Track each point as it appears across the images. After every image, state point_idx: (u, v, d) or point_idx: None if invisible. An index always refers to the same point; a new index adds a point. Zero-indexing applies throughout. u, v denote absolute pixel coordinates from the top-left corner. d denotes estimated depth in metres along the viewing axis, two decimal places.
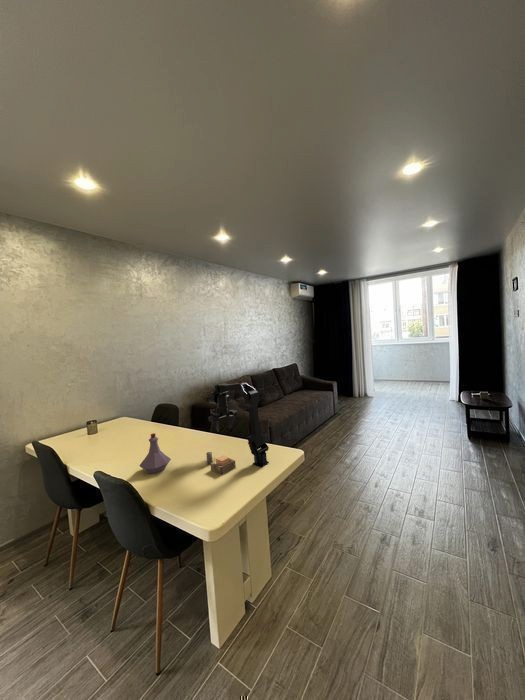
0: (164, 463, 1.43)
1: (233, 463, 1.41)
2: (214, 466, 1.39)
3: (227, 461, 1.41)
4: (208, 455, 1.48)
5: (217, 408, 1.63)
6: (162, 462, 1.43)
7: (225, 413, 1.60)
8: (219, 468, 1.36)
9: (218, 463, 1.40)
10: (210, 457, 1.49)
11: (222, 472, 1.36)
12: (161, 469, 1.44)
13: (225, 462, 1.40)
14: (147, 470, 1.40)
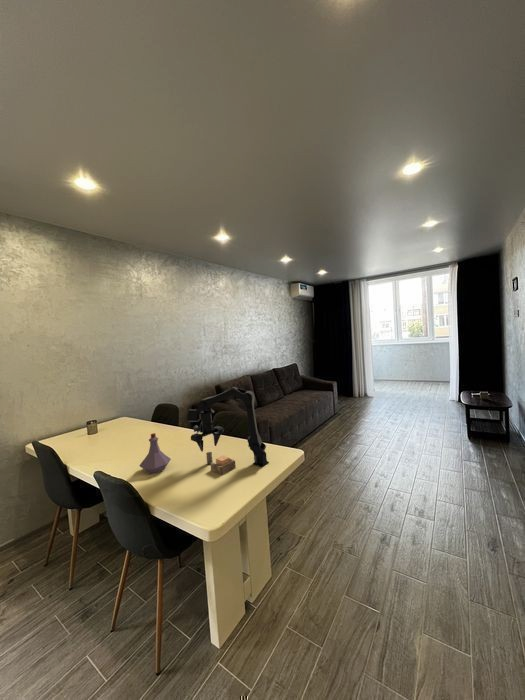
0: (164, 463, 1.43)
1: (233, 463, 1.41)
2: (214, 466, 1.39)
3: (227, 461, 1.41)
4: (208, 455, 1.48)
5: (201, 425, 1.49)
6: (162, 462, 1.43)
7: (209, 431, 1.47)
8: (219, 468, 1.36)
9: (218, 463, 1.40)
10: (210, 457, 1.49)
11: (222, 472, 1.36)
12: (161, 469, 1.44)
13: (225, 462, 1.40)
14: (147, 470, 1.40)
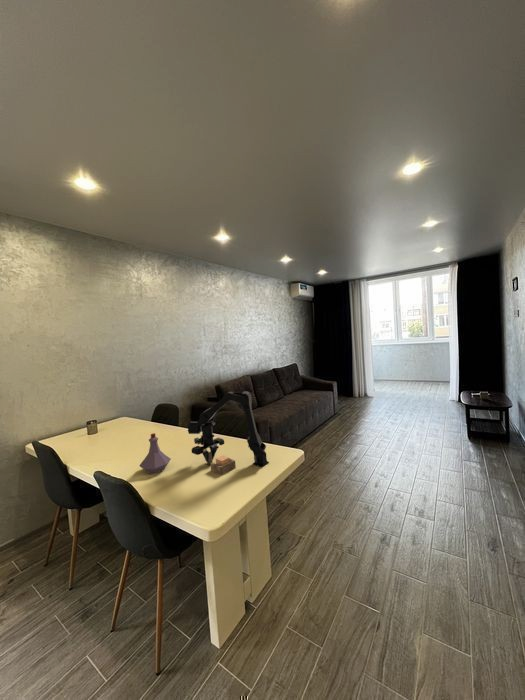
0: (164, 463, 1.43)
1: (233, 463, 1.41)
2: (214, 466, 1.39)
3: (227, 461, 1.41)
4: None
5: (202, 437, 1.50)
6: (162, 462, 1.43)
7: (210, 443, 1.47)
8: (219, 468, 1.36)
9: (218, 463, 1.40)
10: (210, 457, 1.49)
11: (222, 472, 1.36)
12: (161, 469, 1.44)
13: (225, 462, 1.40)
14: (147, 470, 1.40)
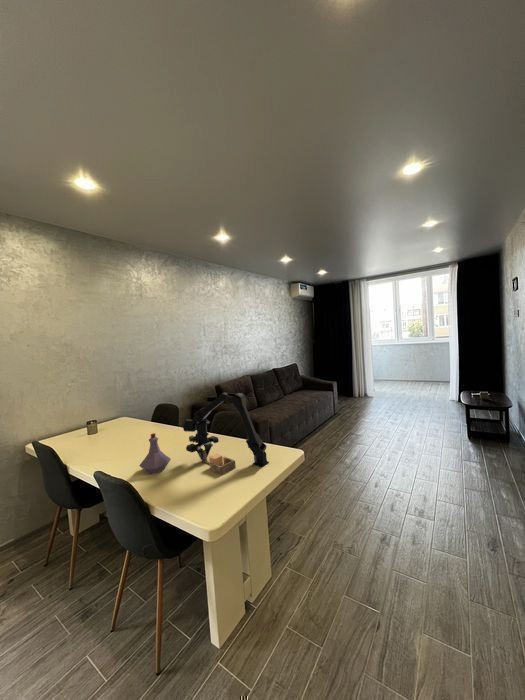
0: (164, 463, 1.43)
1: (233, 463, 1.41)
2: (214, 466, 1.39)
3: (220, 459, 1.44)
4: None
5: (196, 436, 1.53)
6: (162, 462, 1.43)
7: (204, 441, 1.51)
8: (219, 468, 1.36)
9: (211, 461, 1.43)
10: (204, 455, 1.52)
11: (222, 472, 1.36)
12: (161, 469, 1.44)
13: (218, 460, 1.43)
14: (147, 470, 1.40)
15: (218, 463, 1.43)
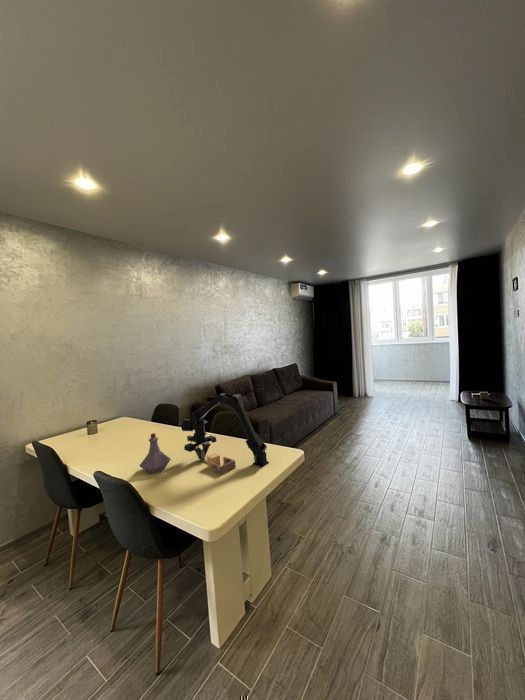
0: (164, 463, 1.43)
1: (233, 463, 1.41)
2: (214, 466, 1.39)
3: (217, 459, 1.45)
4: (201, 452, 1.53)
5: (194, 435, 1.55)
6: (162, 462, 1.43)
7: (202, 441, 1.52)
8: (219, 468, 1.36)
9: (209, 460, 1.45)
10: (203, 454, 1.53)
11: (222, 472, 1.36)
12: (161, 469, 1.44)
13: (215, 459, 1.44)
14: (147, 470, 1.40)
15: (215, 462, 1.44)
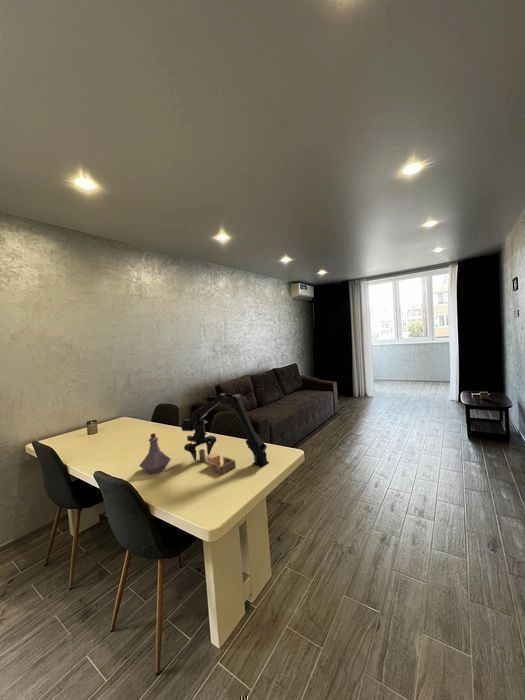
0: (164, 463, 1.43)
1: (233, 463, 1.41)
2: (214, 466, 1.39)
3: (217, 459, 1.45)
4: (201, 452, 1.53)
5: (194, 435, 1.55)
6: (162, 462, 1.43)
7: (202, 441, 1.53)
8: (219, 468, 1.36)
9: (209, 460, 1.45)
10: (202, 454, 1.53)
11: (222, 472, 1.36)
12: (161, 469, 1.44)
13: (215, 459, 1.44)
14: (147, 470, 1.40)
15: (215, 462, 1.44)
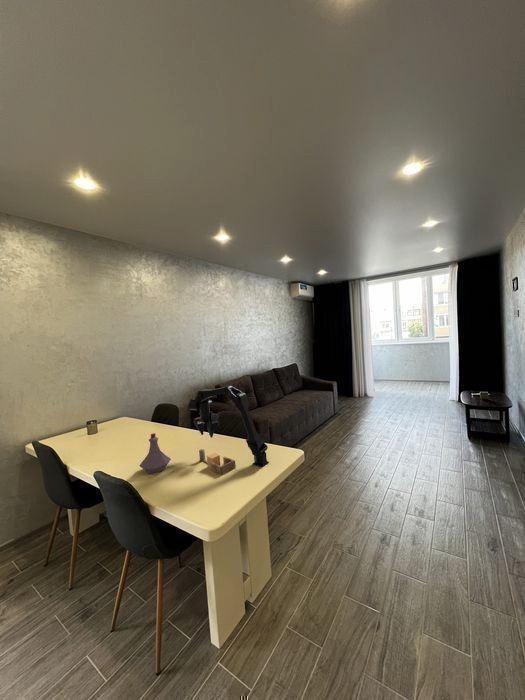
0: (164, 463, 1.43)
1: (233, 463, 1.41)
2: (214, 466, 1.39)
3: (217, 459, 1.45)
4: (201, 452, 1.53)
5: None
6: (162, 462, 1.43)
7: (201, 420, 1.58)
8: (219, 468, 1.36)
9: (209, 460, 1.45)
10: (202, 454, 1.53)
11: (222, 472, 1.36)
12: (161, 469, 1.44)
13: (215, 459, 1.44)
14: (147, 470, 1.40)
15: (215, 462, 1.44)
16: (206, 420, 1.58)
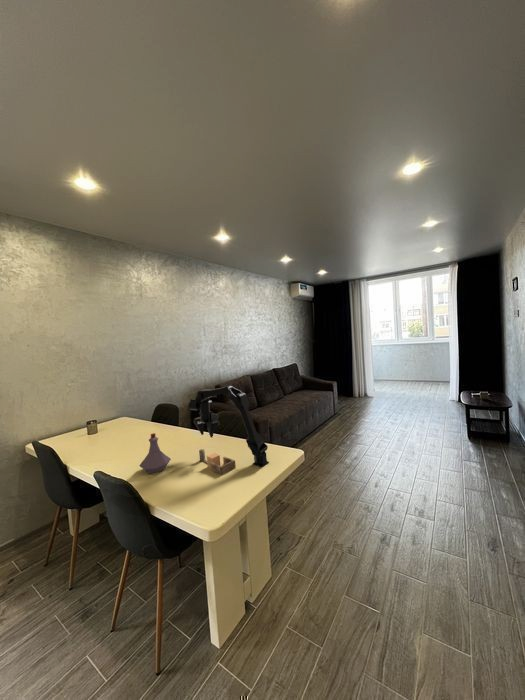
0: (164, 463, 1.43)
1: (233, 463, 1.41)
2: (214, 466, 1.39)
3: (217, 459, 1.45)
4: (201, 452, 1.53)
5: None
6: (162, 462, 1.43)
7: (201, 420, 1.59)
8: (219, 468, 1.36)
9: (209, 460, 1.45)
10: (202, 454, 1.53)
11: (222, 472, 1.36)
12: (161, 469, 1.44)
13: (215, 459, 1.44)
14: (147, 470, 1.40)
15: (215, 462, 1.44)
16: (206, 420, 1.58)
